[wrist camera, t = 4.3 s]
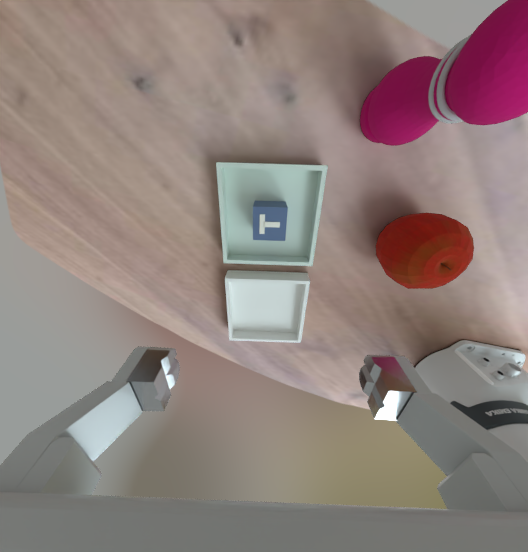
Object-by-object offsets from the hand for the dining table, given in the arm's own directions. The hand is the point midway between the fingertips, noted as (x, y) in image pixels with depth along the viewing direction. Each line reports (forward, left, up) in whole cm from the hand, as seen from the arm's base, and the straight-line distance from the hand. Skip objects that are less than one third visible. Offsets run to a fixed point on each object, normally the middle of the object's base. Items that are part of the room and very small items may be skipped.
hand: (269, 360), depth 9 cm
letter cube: (0, 0, -26) cm, 26 cm away
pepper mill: (-14, -13, -27) cm, 33 cm away
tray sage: (0, 0, -27) cm, 27 cm away
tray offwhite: (0, +17, -27) cm, 32 cm away
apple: (-21, +3, -27) cm, 35 cm away
